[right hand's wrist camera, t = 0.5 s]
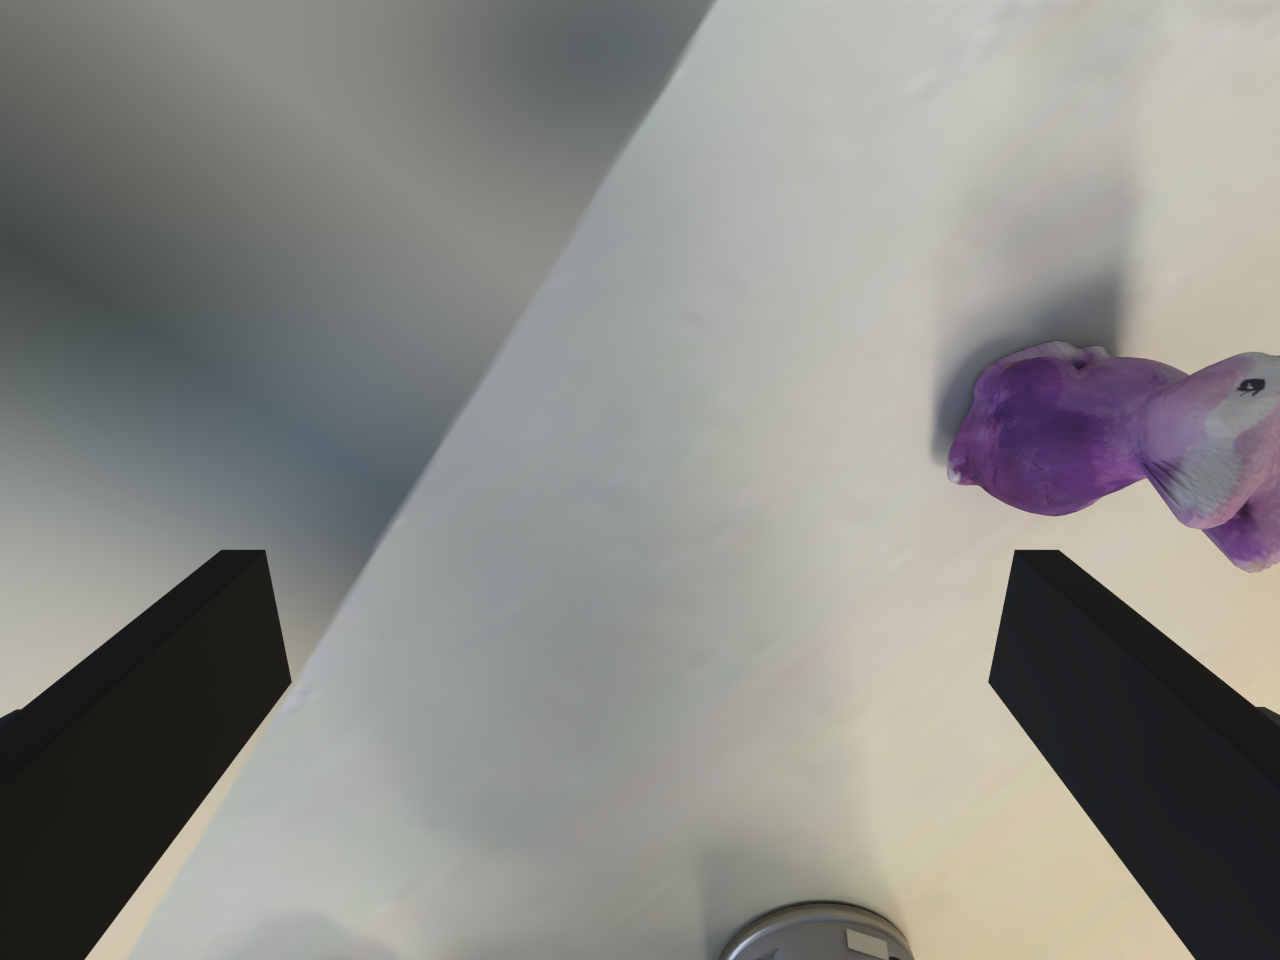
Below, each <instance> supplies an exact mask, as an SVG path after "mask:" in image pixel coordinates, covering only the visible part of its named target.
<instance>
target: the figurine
mask: <svg viewBox="0 0 1280 960" xmlns="http://www.w3.org/2000/svg"><path fill="white" fill-rule="evenodd" d="M947 474H948V479H949V480H950V481H951V482H953V483H956V484H959V485H979V486H981V487H982V488H983V489H984V490H985V491H986V492H987V493H989V494H990V495H992V496H993V497H995V498H997V499H999V500H1000V501H1002V502H1004V503H1006V504H1008V505H1011V506H1013V507H1015V508H1018V509H1020V510H1023V511H1026V512H1030V513H1035V514H1041V515H1047V516H1061V515H1066V514H1070V513H1074V512H1077V511H1079V510H1082V509H1084V508H1086V507H1088V506H1090V505H1092V504H1093V503H1095V502H1096V501H1097V500H1099V499H1100V498H1101V497H1103V496H1105V495H1108V494H1110V493H1113V492H1116V491H1118V490H1121V489H1123V488H1125V487H1127V486H1129V485H1131V484H1133V483H1135V482H1137V481H1140V480H1142V479H1145V478H1148V479H1149V481H1150V482H1151V483H1152V485H1153V486H1154V488H1155V489H1156V490H1157V492H1158V493H1159V494H1160V496H1161V497H1162V499H1163V500H1164V501H1165V503H1166V504H1167V505H1168V507H1169V508H1170V510H1171V511H1172V512H1173V514H1174V515H1175V516H1176V518H1177V519H1178V521H1180V522H1181V523H1183V524H1184V525H1186V526H1187V527H1190V528H1195V529H1201V530H1202V531H1203V532H1204V533H1205V534H1206V535H1207V536H1208V537H1209V538H1210V540H1211V541H1212V542H1213V543H1214V544H1215V545H1216V546H1217V547H1218V548H1219V549H1220V550H1221V551H1222V552H1223V553H1224V554H1225V556H1226V557H1227V558H1228V559H1229V560H1230V561H1231V562H1232V563H1233V564H1234V565H1235V566H1237V567H1238V568H1240V569H1242V570H1244V571H1246V572H1249V573H1252V572H1260V571H1262V570H1264V569H1266V568H1269V567H1271V566H1272V565H1273V564H1277V563H1279V562H1280V356H1274V355H1268V354H1265V353H1260V352H1247V353H1241V354H1238V355H1235V356H1232V357H1230V358H1227V359H1225V360H1222V361H1220V362H1218V363H1215V364H1213V365H1210V366H1208V367H1206V368H1204V369H1202V370H1199V371H1197V372H1195V373H1193V374H1192V375H1188V374H1186V373H1184V372H1182V371H1180V370H1178V369H1176V368H1174V367H1172V366H1169V365H1167V364H1164V363H1161V362H1157V361H1154V360H1148V359H1142V358H1131V357H1115V358H1114V357H1113V355H1112V354H1111V353H1110V352H1109V351H1108V349H1105V347H1101V346H1090V347H1084V348H1076V347H1075V346H1073V345H1072V344H1070V343H1068V342H1060V341H1052V342H1048V343H1044V344H1040V345H1037V346H1035V347H1029V348H1028V349H1025V350H1022V351H1019V352H1016V353H1013V354H1011V355H1009V356H1007V357H1004V358H1002V359H1000V360H997V361H995V362H993V363H992V364H990V365H988V366H987V368H986V369H985V370H984V371H983V372H982V373H981V374H980V375H979V377H978V379H977V382H976V385H975V388H974V399H973V402H972V404H971V407H970V410H969V413H968V414H967V416H966V418H965V419H964V421H963V422H962V424H961V426H960V428H959V431H958V433H957V435H956V438H955V440H954V442H953V444H952V447H951V449H950V452H949V455H948V462H947Z"/></svg>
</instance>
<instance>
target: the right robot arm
mask: <svg viewBox="0 0 1280 960" xmlns="http://www.w3.org/2000/svg"><path fill="white" fill-rule="evenodd" d="M291 683H292V681H291V676H290V671H289V666H288V661H287V656H286V651H285V646H284V641H283V636H282V631H281V626H280V621H279V616H278V611H277V606H276V601H275V596H274V591H273V587H272V581H271V577H270V571H269V567H268V562H267V557H266V552H265V550H221V551H219V552H218V553H217V554H216V555H214V556H213V557H212V558H211V559H209V560H208V561H207V562H206V563H204V564H203V565H202V566H201V567H199V568H198V569H197V570H196V571H194V572H193V573H192V574H191V575H189V576H188V577H187V578H186V579H184V580H183V581H182V582H181V583H179V584H178V585H177V586H176V587H174V588H173V589H172V590H171V591H169V592H168V593H167V594H166V595H164V596H163V597H162V598H161V599H159V600H158V601H157V602H155V603H154V604H153V605H152V606H151V607H149V608H148V609H147V610H145V611H144V612H143V613H142V614H140V615H139V616H138V617H137V618H135V619H134V620H133V621H132V622H130V623H129V624H128V625H127V626H125V627H124V628H123V629H122V630H120V631H119V632H118V633H117V634H115V635H114V636H113V637H112V638H110V639H109V640H108V641H107V642H105V643H104V644H103V645H102V646H100V647H99V648H98V649H97V650H95V651H94V652H93V653H92V654H90V655H89V656H88V657H87V658H85V659H84V660H83V661H82V662H80V663H79V664H78V665H77V666H75V667H74V668H73V669H72V670H70V671H69V672H68V673H66V674H65V675H64V676H63V677H61V678H60V679H59V680H58V681H56V682H55V683H54V684H53V685H51V686H50V687H49V688H48V689H46V690H45V691H44V692H43V693H41V694H40V695H39V696H38V697H36V698H35V699H34V700H33V701H31V702H30V703H29V704H28V705H26V706H25V707H24V708H23V709H21V710H15V711H13V712H11V713H9V714H7V715H5V716H3V717H2V718H0V960H85V958H86V957H87V956H88V954H89V953H90V952H91V950H92V949H93V948H94V946H95V945H96V943H97V942H98V941H99V939H100V938H101V937H102V935H103V934H104V933H105V931H106V930H107V929H108V927H109V926H110V925H111V923H112V922H113V921H114V919H115V918H116V917H117V915H118V914H119V913H120V911H121V910H122V909H123V907H124V906H125V905H126V903H127V902H128V901H129V899H130V898H131V897H132V895H133V894H134V893H135V891H136V890H137V889H138V887H139V886H140V885H141V883H142V882H143V881H144V879H145V878H146V877H147V875H148V874H149V873H150V871H151V870H152V869H153V867H154V866H155V865H156V863H157V862H158V860H159V859H160V858H161V856H162V855H163V854H164V852H165V851H166V850H167V848H168V847H169V846H170V844H171V843H172V842H173V840H174V839H175V838H176V836H177V835H178V834H179V832H180V831H181V830H182V828H183V827H184V826H185V824H186V823H187V822H188V820H189V819H190V818H191V816H192V815H193V814H194V812H195V811H196V810H197V808H198V807H199V806H200V804H201V803H202V802H203V800H204V799H205V798H206V796H207V795H208V794H209V792H210V791H211V790H212V788H213V787H214V786H215V784H216V783H217V781H218V780H219V779H220V778H221V776H222V775H223V774H224V772H225V771H226V769H227V768H228V767H229V765H230V764H231V763H232V761H233V760H234V759H235V757H236V756H237V755H238V753H239V752H240V751H241V749H242V748H243V747H244V745H245V744H246V743H247V741H248V740H249V739H250V737H251V736H252V735H253V733H254V732H255V731H256V729H257V728H258V727H259V725H260V724H261V723H262V721H263V720H264V719H265V717H266V716H267V715H268V713H269V712H270V711H271V709H272V708H273V707H274V705H275V704H276V703H277V701H278V700H279V699H280V697H281V696H282V695H283V693H284V692H285V691H286V689H287V688H288V687H289V685H290V684H291ZM988 683H989V684H990V685H991V687H992V688H993V689H994V691H995V692H996V693H997V695H998V696H999V697H1000V699H1001V700H1002V701H1003V703H1004V704H1005V705H1006V707H1007V708H1008V709H1009V711H1010V712H1011V713H1012V715H1013V716H1014V717H1015V719H1016V720H1017V721H1018V723H1019V724H1020V725H1021V727H1022V728H1023V729H1024V731H1025V732H1026V733H1027V735H1028V736H1029V737H1030V739H1031V740H1032V741H1033V743H1034V744H1035V745H1036V747H1037V748H1038V749H1039V751H1040V752H1041V753H1042V755H1043V756H1044V757H1045V759H1046V760H1047V761H1048V763H1049V764H1050V765H1051V767H1052V768H1053V770H1054V771H1055V772H1056V774H1057V775H1058V776H1059V778H1060V779H1061V780H1062V782H1063V783H1064V784H1065V786H1066V787H1067V788H1068V790H1069V791H1070V792H1071V794H1072V795H1073V796H1074V798H1075V799H1076V800H1077V802H1078V803H1079V804H1080V806H1081V807H1082V808H1083V810H1084V811H1085V812H1086V814H1087V815H1088V816H1089V818H1090V819H1091V820H1092V822H1093V823H1094V824H1095V826H1096V827H1097V828H1098V830H1099V831H1100V832H1101V834H1102V835H1103V836H1104V838H1105V839H1106V840H1107V842H1108V843H1109V844H1110V846H1111V847H1112V848H1113V850H1114V851H1115V852H1116V854H1117V855H1118V857H1119V858H1120V859H1121V861H1122V862H1123V863H1124V865H1125V866H1126V867H1127V869H1128V870H1129V871H1130V873H1131V874H1132V875H1133V877H1134V878H1135V879H1136V881H1137V882H1138V883H1139V885H1140V886H1141V887H1142V889H1143V890H1144V891H1145V893H1146V894H1147V895H1148V897H1149V898H1150V899H1151V901H1152V902H1153V903H1154V905H1155V906H1156V907H1157V909H1158V910H1159V911H1160V913H1161V914H1162V915H1163V917H1164V918H1165V919H1166V921H1167V922H1168V923H1169V925H1170V926H1171V927H1172V929H1173V930H1174V931H1175V933H1176V934H1177V935H1178V937H1179V938H1180V939H1181V941H1182V942H1183V943H1184V945H1185V946H1186V948H1187V949H1188V950H1189V952H1190V953H1191V954H1192V956H1193V957H1194V958H1195V960H1280V715H1279V714H1277V713H1275V712H1273V711H1271V710H1269V709H1267V708H1265V707H1255V706H1254V705H1252V704H1251V703H1250V702H1249V701H1247V700H1246V699H1245V698H1244V697H1242V696H1241V695H1240V694H1239V693H1237V692H1236V691H1235V690H1234V689H1232V688H1231V687H1230V686H1229V685H1227V684H1226V683H1225V682H1224V681H1222V680H1221V679H1220V678H1219V677H1217V676H1216V675H1215V674H1214V673H1212V672H1211V671H1210V670H1209V669H1207V668H1206V667H1205V666H1204V665H1202V664H1201V663H1200V662H1198V661H1197V660H1196V659H1195V658H1193V657H1192V656H1191V655H1190V654H1188V653H1187V652H1186V651H1185V650H1183V649H1182V648H1181V647H1180V646H1178V645H1177V644H1176V643H1175V642H1173V641H1172V640H1171V639H1170V638H1168V637H1167V636H1166V635H1165V634H1163V633H1162V632H1161V631H1160V630H1158V629H1157V628H1156V627H1155V626H1153V625H1152V624H1151V623H1150V622H1148V621H1147V620H1146V619H1145V618H1143V617H1142V616H1141V615H1140V614H1138V613H1137V612H1136V611H1135V610H1133V609H1132V608H1131V607H1130V606H1128V605H1127V604H1126V603H1125V602H1123V601H1122V600H1121V599H1120V598H1118V597H1117V596H1116V595H1114V594H1113V593H1112V592H1111V591H1109V590H1108V589H1107V588H1106V587H1104V586H1103V585H1102V584H1101V583H1099V582H1098V581H1097V580H1096V579H1094V578H1093V577H1092V576H1091V575H1089V574H1088V573H1087V572H1086V571H1084V570H1083V569H1082V568H1081V567H1079V566H1078V565H1077V564H1076V563H1074V562H1073V561H1072V560H1071V559H1069V558H1068V557H1067V556H1066V555H1064V554H1063V553H1062V552H1061V551H1059V550H1015V551H1014V556H1013V561H1012V566H1011V571H1010V576H1009V581H1008V586H1007V591H1006V596H1005V601H1004V606H1003V611H1002V616H1001V621H1000V626H999V631H998V636H997V641H996V646H995V651H994V656H993V661H992V666H991V671H990V676H989V681H988ZM719 960H914V957H913V954H912V952H911V949H910V946H909V945H908V943H907V941H906V939H905V938H904V937H903V935H902V934H901V933H900V932H899V931H898V930H897V929H896V928H895V927H894V926H893V925H892V924H890V923H889V922H887V921H886V920H885V919H883V918H881V917H879V916H877V915H875V914H873V913H871V912H868V911H866V910H863V909H860V908H856V907H852V906H846V905H840V904H807V905H799V906H794V907H789V908H786V909H782V910H779V911H776V912H773V913H771V914H768V915H766V916H764V917H762V918H760V919H758V920H756V921H754V922H753V923H751V924H750V925H748V926H747V927H745V928H744V929H743V930H742V931H740V932H739V933H738V934H737V935H736V936H735V937H734V938H733V939H732V940H731V941H730V942H729V944H728V945H727V946H726V948H725V949H724V951H723V953H722V955H721V957H720V959H719Z"/></svg>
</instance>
